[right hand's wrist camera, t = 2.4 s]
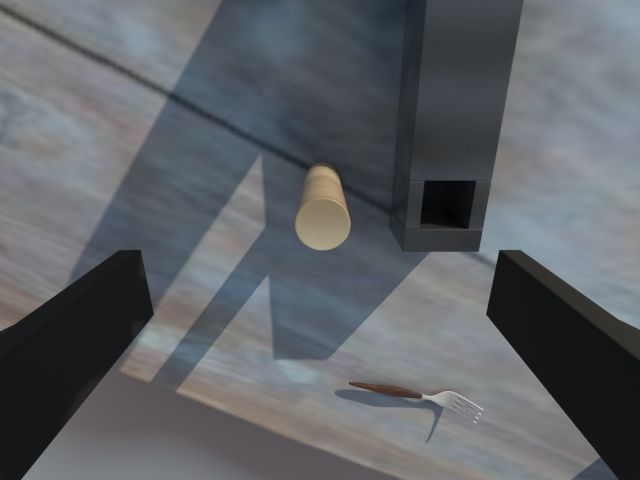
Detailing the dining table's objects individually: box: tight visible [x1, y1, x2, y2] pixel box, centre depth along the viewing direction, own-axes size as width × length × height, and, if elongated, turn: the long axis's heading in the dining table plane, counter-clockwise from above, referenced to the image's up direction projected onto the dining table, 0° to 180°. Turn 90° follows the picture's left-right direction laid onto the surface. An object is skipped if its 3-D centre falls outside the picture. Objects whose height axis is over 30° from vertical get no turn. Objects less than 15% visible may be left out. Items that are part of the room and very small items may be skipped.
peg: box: [295, 162, 350, 251], centre depth 26 cm, size 3×3×14 cm
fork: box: [349, 382, 483, 423], centre depth 41 cm, size 3×16×2 cm, turn 77°
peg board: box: [390, 0, 524, 252], centre depth 27 cm, size 24×6×6 cm, turn 0°
